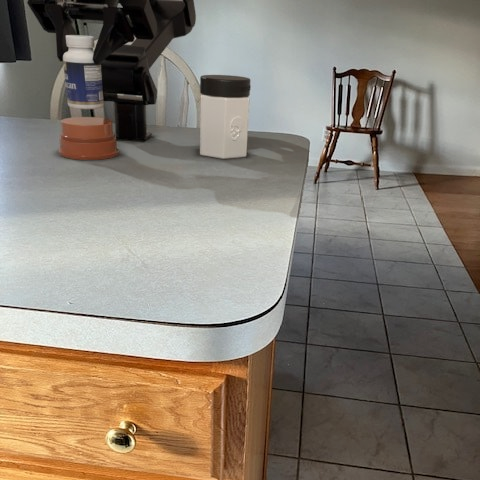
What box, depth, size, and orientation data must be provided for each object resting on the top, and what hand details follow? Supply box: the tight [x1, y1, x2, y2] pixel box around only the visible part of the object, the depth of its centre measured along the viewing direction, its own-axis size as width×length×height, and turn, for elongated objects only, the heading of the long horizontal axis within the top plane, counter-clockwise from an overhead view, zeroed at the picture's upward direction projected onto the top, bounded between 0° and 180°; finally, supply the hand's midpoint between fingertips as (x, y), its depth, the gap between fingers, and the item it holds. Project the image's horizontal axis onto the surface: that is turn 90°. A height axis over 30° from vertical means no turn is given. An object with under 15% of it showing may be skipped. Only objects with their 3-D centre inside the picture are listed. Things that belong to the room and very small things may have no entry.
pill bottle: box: [62, 34, 104, 110], centre depth 81 cm, size 5×5×10 cm
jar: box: [199, 74, 251, 160], centre depth 90 cm, size 9×8×12 cm
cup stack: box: [58, 116, 120, 161], centre depth 87 cm, size 9×9×5 cm
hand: (77, 60), depth 79 cm, fingers closed on pill bottle, 5 cm apart
